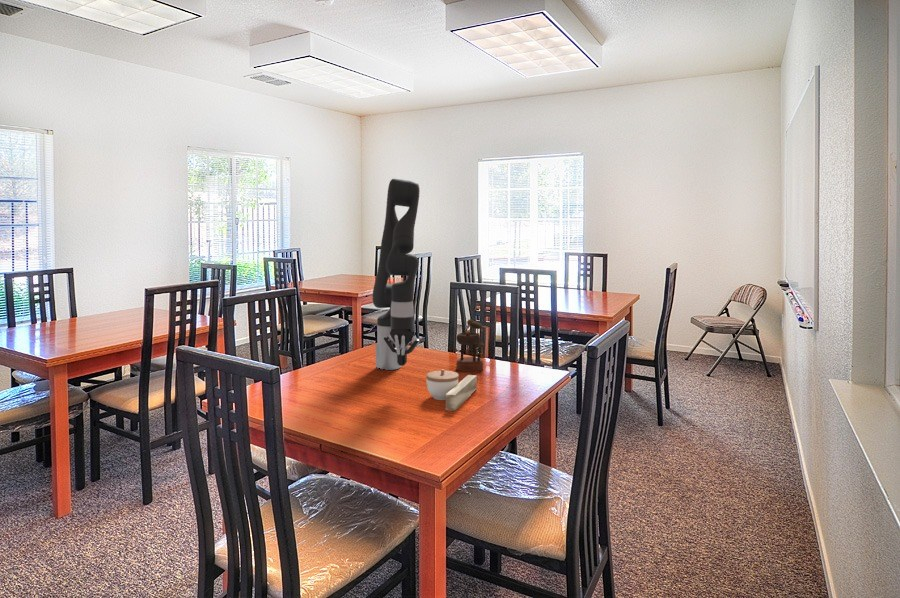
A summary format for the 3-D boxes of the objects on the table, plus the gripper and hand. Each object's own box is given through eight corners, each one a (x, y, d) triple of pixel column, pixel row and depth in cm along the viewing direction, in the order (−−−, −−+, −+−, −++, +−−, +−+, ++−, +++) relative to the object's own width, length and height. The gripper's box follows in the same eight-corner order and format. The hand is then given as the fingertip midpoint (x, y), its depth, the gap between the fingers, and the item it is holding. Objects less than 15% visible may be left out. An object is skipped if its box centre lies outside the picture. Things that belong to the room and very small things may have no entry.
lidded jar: (425, 392, 195) (425, 365, 194) (457, 392, 196) (457, 365, 195) (426, 402, 185) (426, 374, 183) (460, 402, 185) (460, 373, 184)
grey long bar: (445, 410, 177) (445, 394, 177) (468, 388, 200) (468, 374, 199) (455, 411, 176) (455, 395, 176) (476, 389, 199) (476, 375, 198)
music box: (487, 365, 232) (487, 317, 228) (487, 375, 221) (487, 324, 217) (449, 364, 233) (449, 316, 229) (447, 374, 222) (447, 324, 218)
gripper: (379, 314, 189) (379, 365, 192) (416, 317, 185) (415, 370, 188) (388, 311, 196) (388, 360, 199) (424, 313, 192) (424, 364, 195)
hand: (402, 365), depth 193 cm, fingers closed
